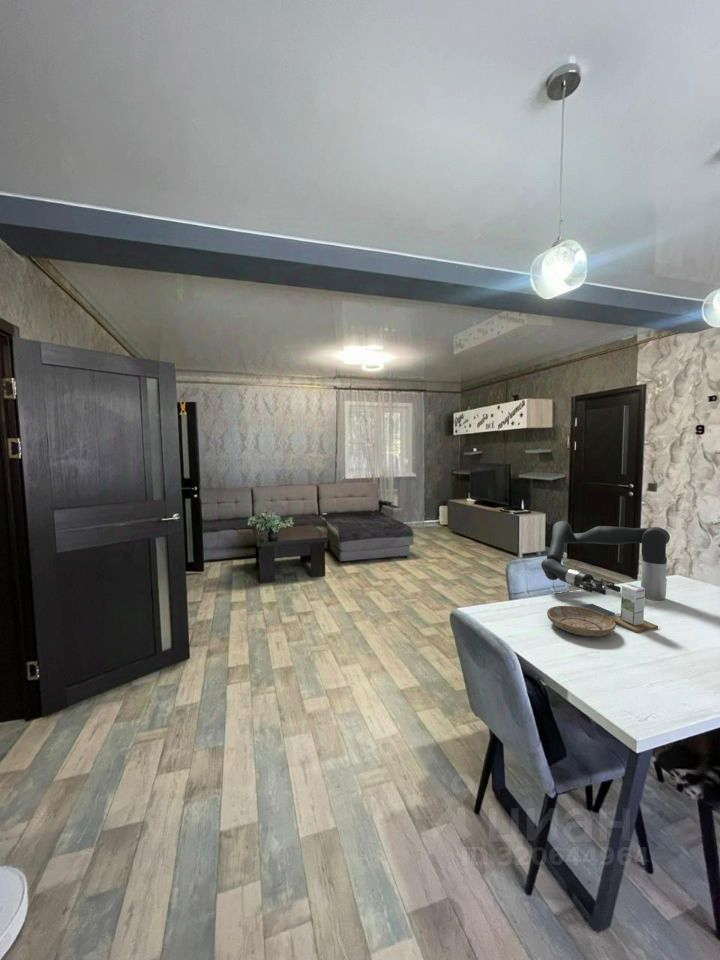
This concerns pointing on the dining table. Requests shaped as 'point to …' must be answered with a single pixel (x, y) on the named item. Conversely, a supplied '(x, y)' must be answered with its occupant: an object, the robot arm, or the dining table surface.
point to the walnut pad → (635, 628)
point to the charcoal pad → (598, 609)
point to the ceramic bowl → (581, 620)
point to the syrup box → (632, 604)
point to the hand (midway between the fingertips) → (612, 591)
